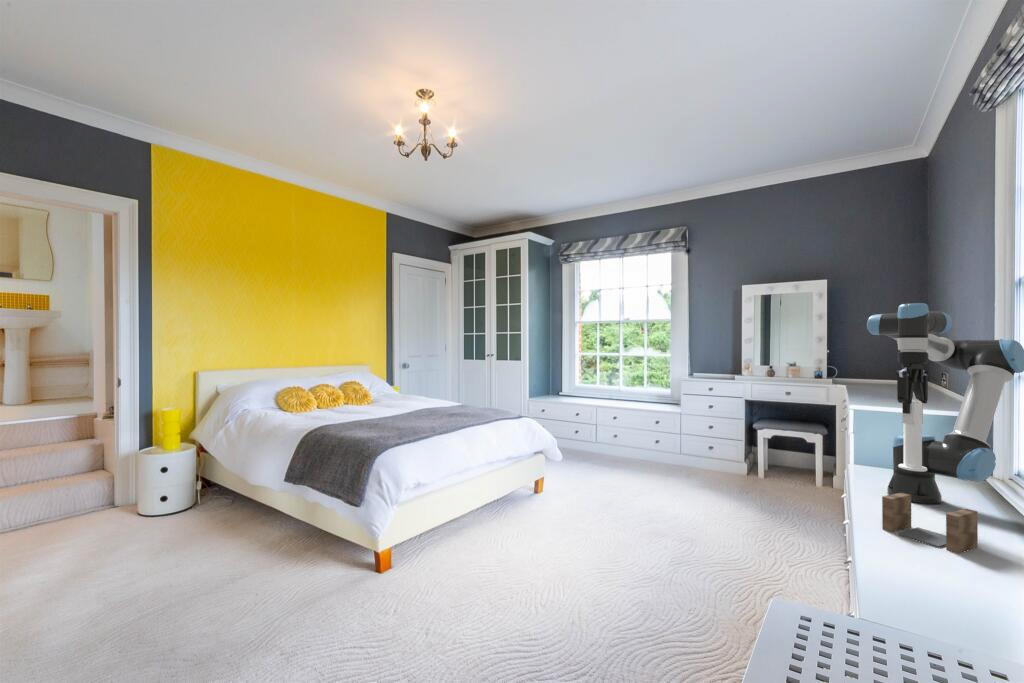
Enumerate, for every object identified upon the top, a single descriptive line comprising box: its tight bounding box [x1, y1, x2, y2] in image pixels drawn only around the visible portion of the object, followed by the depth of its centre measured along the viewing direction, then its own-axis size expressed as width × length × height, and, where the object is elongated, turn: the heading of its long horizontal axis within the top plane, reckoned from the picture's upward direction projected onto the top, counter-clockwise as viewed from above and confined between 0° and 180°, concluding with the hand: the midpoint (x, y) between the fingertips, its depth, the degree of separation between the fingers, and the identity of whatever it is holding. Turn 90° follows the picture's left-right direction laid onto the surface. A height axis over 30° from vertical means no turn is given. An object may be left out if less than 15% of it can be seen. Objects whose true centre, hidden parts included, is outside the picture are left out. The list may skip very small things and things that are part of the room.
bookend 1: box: [881, 493, 912, 533], centre depth 142 cm, size 10×2×10 cm, turn 113°
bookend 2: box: [945, 508, 979, 554], centre depth 127 cm, size 10×2×10 cm, turn 113°
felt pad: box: [896, 527, 946, 549], centre depth 134 cm, size 11×10×1 cm
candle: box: [898, 392, 927, 472], centre depth 150 cm, size 7×7×25 cm
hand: (912, 423), depth 150 cm, fingers closed on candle, 4 cm apart
